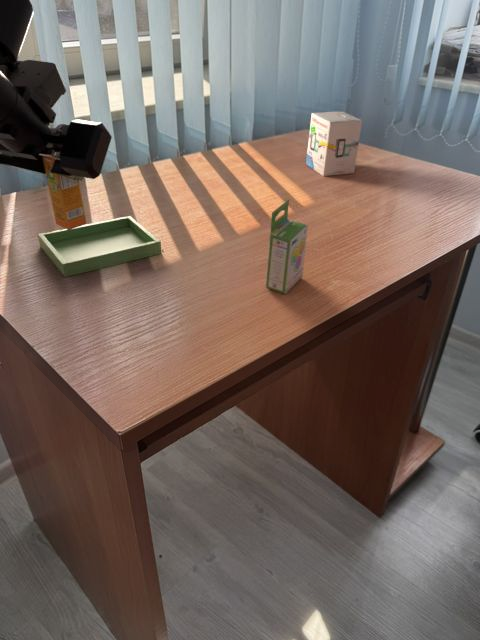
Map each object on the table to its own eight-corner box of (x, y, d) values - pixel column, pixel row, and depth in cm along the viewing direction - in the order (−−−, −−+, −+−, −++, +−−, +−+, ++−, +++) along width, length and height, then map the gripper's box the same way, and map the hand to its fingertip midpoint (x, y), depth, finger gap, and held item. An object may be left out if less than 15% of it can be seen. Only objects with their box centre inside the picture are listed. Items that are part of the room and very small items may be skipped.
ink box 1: (286, 295, 74) (294, 218, 67) (264, 288, 76) (270, 212, 68) (302, 277, 79) (311, 203, 72) (282, 271, 80) (288, 198, 73)
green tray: (65, 277, 75) (62, 264, 74) (40, 246, 82) (37, 234, 81) (161, 253, 82) (160, 241, 81) (131, 227, 90) (130, 215, 88)
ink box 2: (304, 164, 123) (310, 111, 116) (335, 161, 126) (342, 110, 119) (323, 176, 117) (330, 121, 109) (354, 173, 120) (363, 119, 113)
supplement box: (52, 224, 73) (38, 151, 67) (74, 217, 75) (62, 146, 70) (66, 231, 72) (53, 157, 66) (87, 224, 74) (77, 152, 68)
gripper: (92, 44, 55) (147, 131, 70) (-55, 27, 58) (28, 113, 74) (60, 140, 53) (124, 207, 68) (-89, 116, 57) (3, 185, 72)
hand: (69, 175), depth 71 cm, fingers closed on supplement box, 4 cm apart
